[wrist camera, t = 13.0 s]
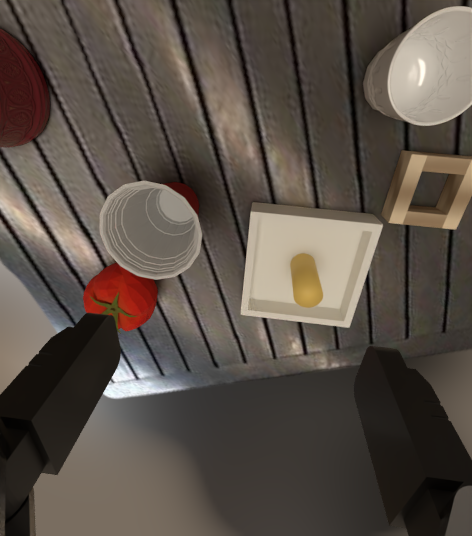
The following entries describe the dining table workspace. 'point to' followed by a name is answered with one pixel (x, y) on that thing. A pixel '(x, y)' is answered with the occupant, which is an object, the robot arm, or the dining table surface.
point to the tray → (320, 248)
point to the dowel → (305, 281)
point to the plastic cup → (152, 228)
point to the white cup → (425, 70)
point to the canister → (20, 94)
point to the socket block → (451, 199)
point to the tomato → (121, 296)
